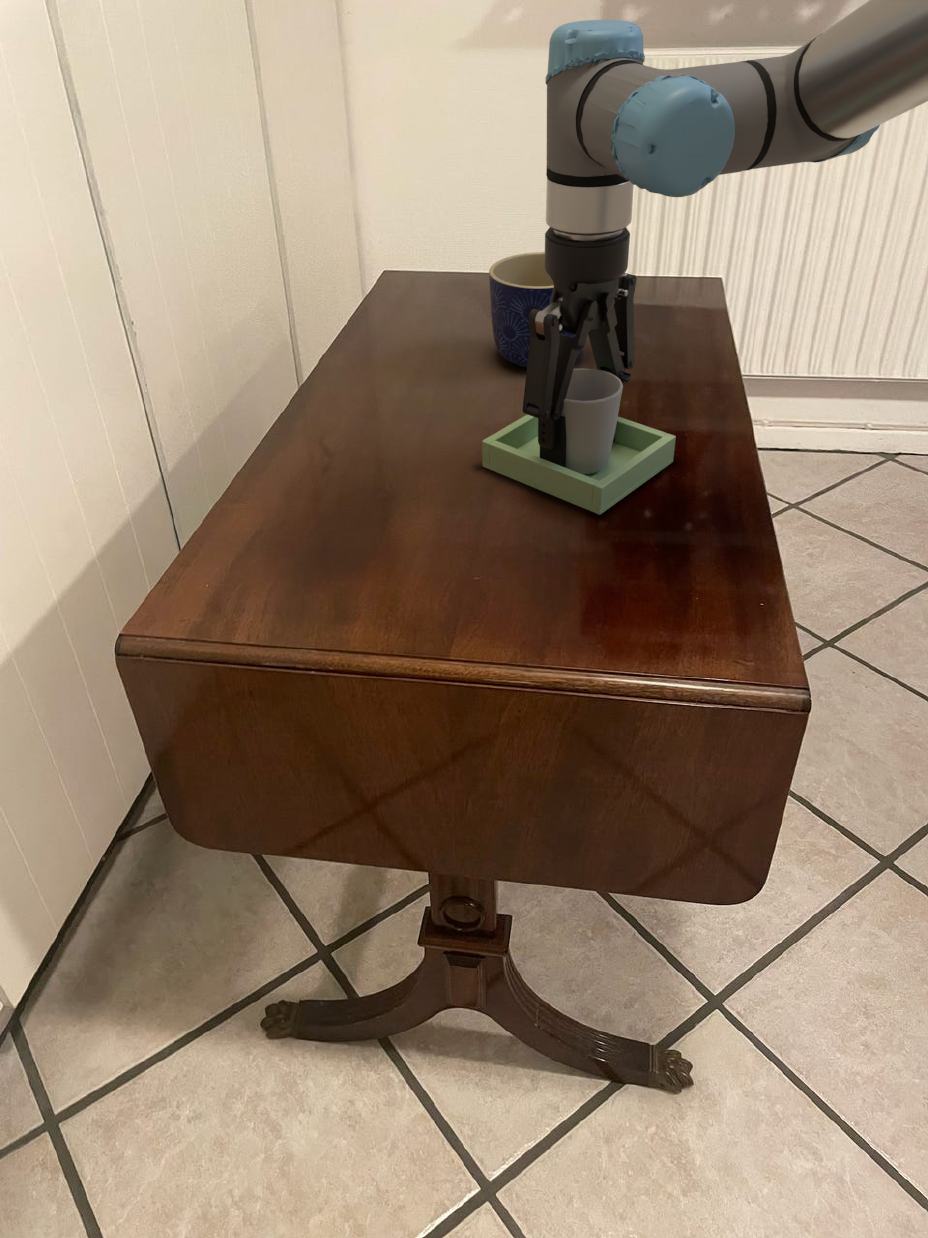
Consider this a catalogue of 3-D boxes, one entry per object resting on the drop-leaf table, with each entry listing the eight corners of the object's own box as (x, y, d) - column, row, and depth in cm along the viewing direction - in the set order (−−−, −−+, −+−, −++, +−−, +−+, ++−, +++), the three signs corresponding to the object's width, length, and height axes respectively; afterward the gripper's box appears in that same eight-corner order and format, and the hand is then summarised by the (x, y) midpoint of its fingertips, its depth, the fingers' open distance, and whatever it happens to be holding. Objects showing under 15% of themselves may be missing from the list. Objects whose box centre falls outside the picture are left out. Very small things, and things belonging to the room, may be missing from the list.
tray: (673, 461, 99) (676, 435, 97) (600, 515, 91) (601, 488, 89) (558, 420, 107) (558, 395, 105) (482, 466, 99) (481, 440, 97)
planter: (479, 371, 117) (476, 283, 111) (504, 332, 127) (503, 249, 120) (578, 380, 114) (581, 290, 107) (597, 340, 123) (601, 254, 117)
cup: (543, 480, 95) (544, 402, 90) (543, 433, 103) (544, 358, 97) (620, 480, 94) (625, 401, 89) (614, 432, 102) (619, 357, 97)
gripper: (619, 192, 92) (606, 408, 106) (478, 250, 80) (484, 484, 94) (687, 205, 88) (663, 428, 102) (548, 268, 76) (544, 509, 90)
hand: (577, 454), depth 98 cm, fingers closed on cup, 8 cm apart
